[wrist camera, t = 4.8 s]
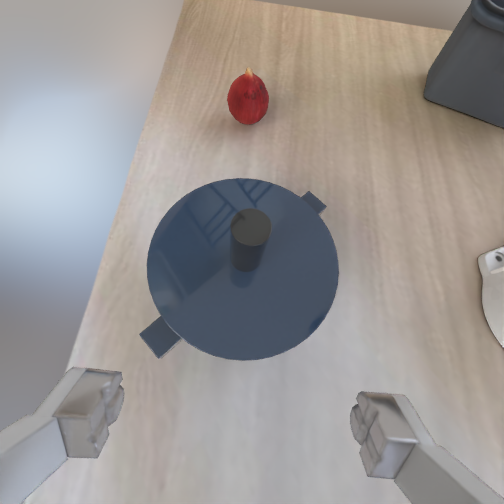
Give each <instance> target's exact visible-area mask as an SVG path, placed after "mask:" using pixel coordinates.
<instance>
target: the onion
mask: <svg viewBox="0 0 504 504" xmlns="http://www.w3.org/2000/svg"><path fill="white" fill-rule="evenodd" d="M227 101H228V106H229V110H230V112H231V114H232V115H233V116H234V118H235V119H236V120H238V121H239V122H240V123H243V124H253V123H255V122H258V121H259V120H260V119H261V118H262V117H263V116H264V115H265V114H266V111H267V108H268V102H269V96H268V92H267V90H266V87H265V85H264V83H263V81H262V80H261V79H260V78H259V77H258V76H256V75H254V73H253V72H252V70H251V68H247V69H246V72H245V74H243V75H241V76H239V77H238V78H237V79H236V80H235V81H234V82H233V83H232V85H231V87H230V90H229V93H228V98H227Z"/></svg>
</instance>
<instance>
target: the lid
mask: <svg viewBox="0 0 504 504" xmlns="http://www.w3.org/2000/svg"><path fill="white" fill-rule="evenodd" d="M338 276H339V267H338V257H337V252H336V248H335V245H334V241H333V239H332V236H331V234H330V232H329V230H328V228H327V227H326V225H325V223H324V222H323V220H322V219H321V217H320V216H319V215H318V214H317V212H316V211H315V210H314V209H313V208H312V207H311V206H310V205H309V204H308V203H307V202H305V201H304V200H303V199H301V198H300V197H299V196H297V195H296V194H294V193H293V192H291V191H289V190H287V189H285V188H283V187H281V186H278V185H275V184H273V183H270V182H266V181H261V180H256V179H243V178H236V179H226V180H221V181H216V182H213V183H210V184H207V185H204V186H202V187H200V188H197V189H195V190H194V191H192V192H190V193H189V194H187V195H185V196H184V197H183V198H181V199H180V200H179V201H178V202H176V203H175V204H174V205H173V206H172V207H171V208H170V209H169V211H168V212H167V213H166V214H165V216H164V217H163V218H162V220H161V221H160V223H159V225H158V227H157V228H156V230H155V233H154V235H153V238H152V240H151V243H150V247H149V251H148V259H147V278H148V284H149V289H150V292H151V295H152V298H153V301H154V303H155V305H156V307H157V309H158V311H159V313H160V315H161V316H162V318H163V319H164V320H165V322H166V323H167V325H168V326H169V327H170V328H171V329H172V330H173V331H174V332H175V333H176V334H177V335H178V336H179V337H181V338H182V339H183V340H184V341H186V342H187V343H188V344H190V345H192V346H193V347H195V348H197V349H199V350H200V351H203V352H205V353H208V354H210V355H213V356H217V357H221V358H225V359H231V360H242V361H244V360H259V359H264V358H269V357H273V356H275V355H278V354H281V353H284V352H286V351H288V350H290V349H292V348H294V347H295V346H297V345H298V344H300V343H301V342H303V341H304V340H305V339H307V338H308V337H309V336H310V335H311V334H312V333H313V332H314V331H315V330H316V329H317V328H318V327H319V325H320V324H321V323H322V321H323V320H324V319H325V317H326V315H327V313H328V312H329V310H330V308H331V305H332V303H333V300H334V298H335V294H336V290H337V286H338Z"/></svg>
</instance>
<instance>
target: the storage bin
mask: <svg viewBox="0 0 504 504" xmlns="http://www.w3.org/2000/svg"><path fill="white" fill-rule="evenodd" d="M424 97H425V98H426V99H427V100H429V101H432V102H435V103H437V104H440V105H443V106H446V107H448V108H451V109H454V110H457V111H460V112H462V113H465V114H468V115H470V116H473V117H476V118H478V119H481V120H483V121H486V122H489V123H491V124H494V125H496V126H499V127H502V128H504V0H472V1H471V4H470V6H469V7H468V9H467V11H466V12H465V14H464V15H463V17H462V18H461V20H460V21H459V23H458V25H457V26H456V28H455V30H454V31H453V33H452V34H451V36H450V37H449V39H448V41H447V42H446V44H445V45H444V47H443V48H442V50H441V52H440V53H439V55H438V56H437V58H436V60H435V61H434V63H433V64H432V66H431V68H430V69H429V72H428V77H427V81H426V86H425V91H424Z"/></svg>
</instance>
